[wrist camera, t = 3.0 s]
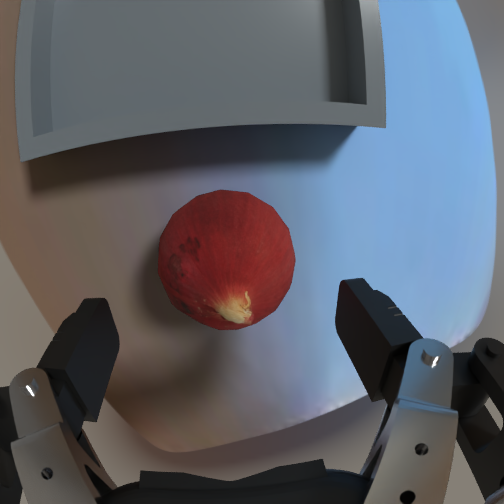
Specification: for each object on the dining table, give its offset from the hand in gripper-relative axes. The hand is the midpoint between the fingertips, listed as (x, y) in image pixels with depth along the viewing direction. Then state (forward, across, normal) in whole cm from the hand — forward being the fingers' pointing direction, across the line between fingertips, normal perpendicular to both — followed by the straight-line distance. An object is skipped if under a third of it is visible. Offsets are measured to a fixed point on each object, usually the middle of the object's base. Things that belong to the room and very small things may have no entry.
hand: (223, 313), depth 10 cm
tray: (+7, +1, -14) cm, 16 cm away
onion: (+7, 0, 0) cm, 7 cm away
